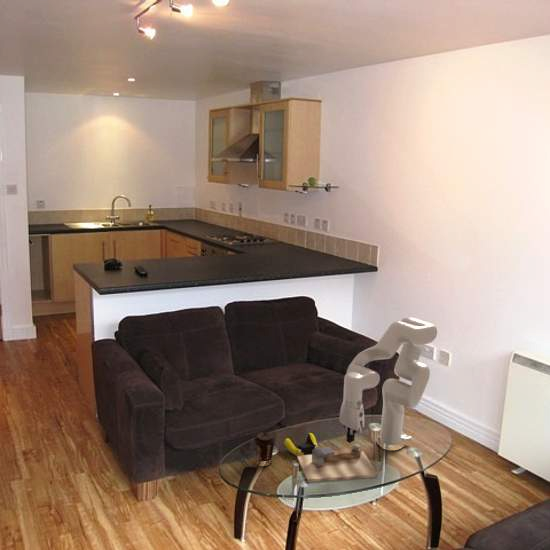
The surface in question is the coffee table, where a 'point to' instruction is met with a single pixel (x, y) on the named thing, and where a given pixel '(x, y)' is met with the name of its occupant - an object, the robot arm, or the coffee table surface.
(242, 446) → the coffee table surface
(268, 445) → the coffee cup
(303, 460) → the pivot board
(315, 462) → the keeper
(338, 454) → the link
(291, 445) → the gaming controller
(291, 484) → the coffee table surface
